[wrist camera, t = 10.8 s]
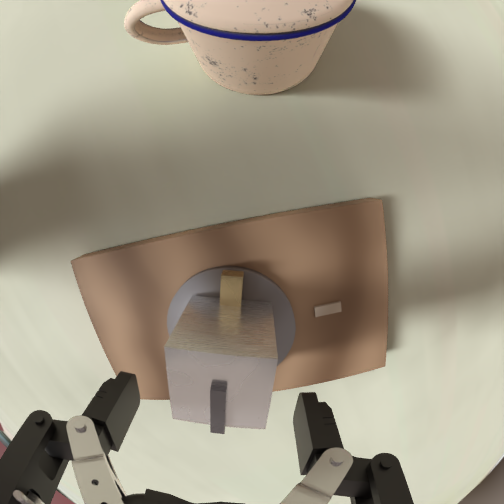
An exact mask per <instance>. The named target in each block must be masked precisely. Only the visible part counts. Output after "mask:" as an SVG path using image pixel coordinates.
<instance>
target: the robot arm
mask: <svg viewBox="0 0 504 504" xmlns="http://www.w3.org/2000/svg"><path fill="white" fill-rule="evenodd" d="M139 404H140V393H139V388H138V383H137V378H136V375H135V374H132V373H128V372H124V371H120V372H119V374H118V375H117V377H116V378H115V379H112V378H110V379H109V380H107V381H106V382H104V383H103V384H102V386H101V387H100V389H99V391H98V392H97V393H96V395H95V396H94V398H93V399H92V401H91V402H90V404H89V405H88V407H87V408H86V410H85V411H84V413H83V414H82V416H75V417H72V418H71V419H69V421H60V420H53V419H52V417H51V416H50V414H49V413H48V412H46V411H42V410H37V411H34V412H32V413H31V414H30V415H29V416H28V418H27V419H26V421H25V422H24V424H23V425H22V426H21V428H20V429H19V431H18V432H17V434H16V435H15V437H14V438H13V440H12V441H11V443H10V445H9V446H8V448H7V449H6V451H5V452H4V454H3V456H2V457H1V459H0V504H50V503H51V501H52V498H53V496H54V494H55V491H56V489H57V487H58V484H59V482H60V480H61V477H62V475H63V473H64V471H65V469H66V466H67V464H68V462H69V460H72V466H73V469H74V473H75V476H76V480H77V483H78V486H79V489H80V492H81V495H82V498H83V500H84V503H85V504H195V503H191V502H188V501H185V500H183V499H180V498H178V497H175V496H173V495H171V494H167V493H162V492H158V491H154V490H150V489H146V492H145V494H132V495H126V493H125V491H124V489H123V487H122V485H121V483H120V481H119V479H118V477H117V474H116V472H115V470H114V467H113V465H112V463H111V460H110V457H109V455H108V454H109V452H110V450H114V451H117V452H118V451H119V449H120V446H121V444H122V442H123V440H124V437H125V435H126V433H127V431H128V429H129V426H130V424H131V422H132V420H133V418H134V416H135V413H136V411H137V409H138V407H139ZM293 425H294V431H295V438H296V445H297V452H298V459H299V466H300V473H301V475H306V476H305V478H304V479H303V480H302V481H301V482H300V483H298V484H297V485H296V486H295V487H294V488H293V490H292V491H291V492H290V493H289V494H288V495H287V496H286V497H285V499H284V500H283V501H282V502H281V503H280V504H328V502H329V501H330V499H331V497H332V496H333V495H338V496H347V497H350V499H351V504H414V503H413V500H412V497H411V494H410V491H409V488H408V485H407V482H406V479H405V476H404V474H403V471H402V468H401V465H400V462H399V460H398V459H397V458H396V457H395V456H394V455H392V454H389V453H381V454H378V455H376V456H375V457H374V458H373V459H365V458H357V457H354V456H352V455H351V454H350V453H349V452H348V451H347V450H345V449H344V447H343V445H342V441H341V438H340V435H339V431H338V428H337V425H336V422H335V418H334V415H333V412H332V409H331V408H330V407H329V406H328V405H327V403H326V402H318V399H317V395H316V393H315V392H309V393H299V396H298V400H297V404H296V408H295V411H294V416H293ZM198 504H243V503H228V502H213V503H198Z"/></svg>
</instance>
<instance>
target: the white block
mask: <svg viewBox="0 0 504 504" xmlns="http://www.w3.org/2000/svg"><path fill="white" fill-rule="evenodd" d="M243 277H244V272H243V271H232V270H223V272H222V274H221V287H220V298H215V297H205V296H196V295H192V297H191V299H190V301H189V302H188V304H187V306H186V308H185V310H184V311H183V313H182V315H181V317H180V319H179V320H178V322H177V324H176V326H175V328H174V330H173V331H172V333H171V335H170V337H169V339H168V341H167V342H166V344H165V346H164V350H165V360H166V370H167V379H168V388H169V395H170V403H171V410H172V416H173V419H178V420H183V421H189V422H196V423H203V424H210V425H211V432H212V433H220V434H224V433H225V426H228V427H239V428H253V429H265V428H266V423H267V417H268V412H269V407H270V402H271V396H272V391H273V385H274V379H275V373H276V368H277V362H278V354H277V345H276V336H275V327H274V318H273V310H272V302H260V301H248V300H242V289H243Z"/></svg>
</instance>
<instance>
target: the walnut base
mask: <svg viewBox="0 0 504 504" xmlns="http://www.w3.org/2000/svg"><path fill="white" fill-rule="evenodd" d="M71 264H72V268H73V271H74V274H75V277H76V280H77V283H78V286H79V289H80V292H81V295H82V298H83V301H84V303H85V306H86V309H87V311H88V314H89V317H90V319H91V322H92V324H93V326H94V329H95V331H96V334H97V336H98V338H99V340H100V343H101V345H102V347H103V349H104V351H105V354H106V356H107V358H108V360H109V362H110V364H111V366H112V368H113V370H114V372H115V374H116V376H117V375H118V374H119V372H120V371H124V372H128V373H132V374H135V375H136V378H137V383H138V388H139V393H140V399H150V400H170V395H169V388H168V379H167V370H166V360H165V350H164V346H165V344H166V342H167V341H168V339H169V337H170V335H171V333H172V331H173V330H174V328H175V326H176V324H177V322H178V320H179V319H180V317H181V315H182V313H183V311H184V310H185V308H186V306H187V304H188V302H189V301H190V299H191V297H192V295H196V296H205V297H215V298H220V287H221V274H222V272H223V270H232V271H243V272H244V277H243V289H242V300H248V301H260V302H272V310H273V318H274V327H275V336H276V345H277V354H278V362H277V368H276V373H275V379H274V385H273V391H280V390H286V389H292V388H297V387H303V386H308V385H313V384H318V383H323V382H327V381H332V380H336V379H340V378H344V377H348V376H352V375H356V374H360V373H363V372H367V371H371V370H374V369H377V368H381V367H384V366H385V362H386V349H387V330H388V265H387V246H386V233H385V222H384V212H383V203H382V200H381V199H374V198H366V199H359V200H353V201H346V202H340V203H333V204H327V205H321V206H315V207H309V208H303V209H298V210H292V211H286V212H281V213H275V214H269V215H264V216H259V217H253V218H248V219H243V220H238V221H232V222H227V223H222V224H217V225H212V226H207V227H203V228H198V229H193V230H188V231H184V232H179V233H174V234H170V235H165V236H160V237H156V238H151V239H147V240H143V241H138V242H134V243H130V244H125V245H121V246H117V247H113V248H109V249H104V250H100V251H96V252H92V253H88V254H84V255H82V256H80V257H78V258H76V259H74V260H72V261H71ZM273 391H272V392H273Z"/></svg>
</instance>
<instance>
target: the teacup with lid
mask: <svg viewBox="0 0 504 504" xmlns="http://www.w3.org/2000/svg"><path fill="white" fill-rule="evenodd" d="M355 2H356V0H140V1H138V2H137V3H135V4H134V5H133V6H132V7H131V8H130V9H129V10H128V12H127V14H126V16H125V22H124V25H125V29H126V31H127V32H128V33H129V34H130V35H131V36H133V37H134V38H136V39H138V40H141V41H143V42H147V43H152V44H160V45H169V44H179V43H186V42H189V44H190V46H191V48H192V50H193V52H194V54H195V56H196V58H197V60H198V62H199V64H200V65H201V67H202V69H203V70H204V71H205V73H206V74H207V75H208V76H209V77H210V78H211V79H212V80H214V81H215V82H216V83H218V84H219V85H221V86H223V87H225V88H227V89H230V90H233V91H236V92H240V93H245V94H254V95H264V94H272V93H277V92H281V91H284V90H287V89H290V88H292V87H294V86H296V85H297V84H299V83H300V82H302V81H303V80H304V79H305V78H307V77H308V75H309V74H310V73H311V72H312V71H313V69H314V68H315V66H316V64H317V62H318V60H319V58H320V56H321V54H322V53H323V51H324V49H325V47H326V45H327V43H328V41H329V39H330V37H331V35H332V34H333V32H334V30H335V28H336V26H337V24H338V22H340V21H341V20H342V19H343V18H345V17H346V16H347V15H348V13H349V12H350V11H351V10H352V8H353V6H354V4H355ZM164 10H166V11H167V12H168V13H169V14H170V15H171V16H172V17H173V18H174V19H175V20H177V21H178V23H179V25H180V27H181V28H173V29H162V28H156V27H152V26H149V25H147V24H145V23H143V22H142V21H140V19H141V18H143V17H145V16H147V15H149V14H152V13H156V12H160V11H164Z"/></svg>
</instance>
